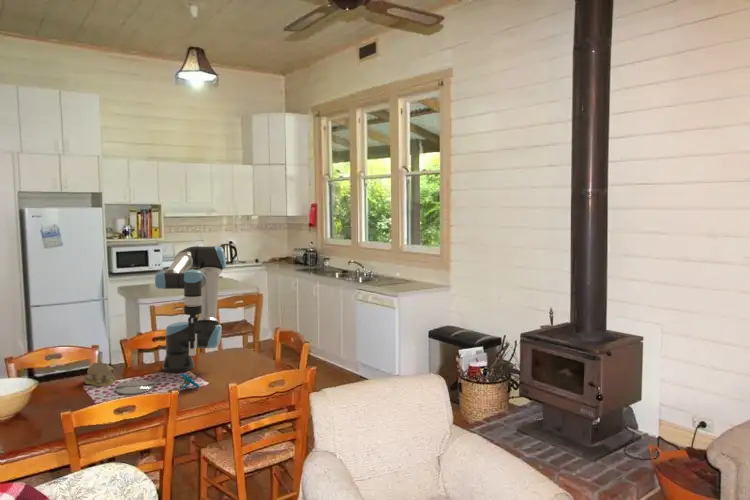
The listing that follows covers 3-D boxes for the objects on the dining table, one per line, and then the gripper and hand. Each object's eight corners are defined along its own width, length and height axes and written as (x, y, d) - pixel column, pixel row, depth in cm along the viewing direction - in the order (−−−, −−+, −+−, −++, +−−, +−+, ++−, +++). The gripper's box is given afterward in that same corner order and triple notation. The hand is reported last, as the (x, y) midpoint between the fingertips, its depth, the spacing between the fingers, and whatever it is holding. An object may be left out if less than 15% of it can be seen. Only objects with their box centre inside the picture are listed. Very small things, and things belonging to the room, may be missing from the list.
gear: (203, 386, 251) (186, 373, 247) (194, 397, 248) (177, 384, 244) (195, 383, 260) (179, 370, 256) (186, 394, 257) (170, 381, 253)
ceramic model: (121, 380, 263) (120, 359, 262) (106, 387, 252) (105, 365, 251) (94, 378, 265) (93, 357, 265) (78, 385, 254) (77, 363, 254)
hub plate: (120, 383, 257) (120, 381, 257) (157, 382, 260) (157, 379, 260) (111, 395, 242) (111, 392, 241) (150, 393, 244) (150, 391, 244)
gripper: (186, 300, 262) (186, 345, 263) (181, 310, 238) (182, 359, 239) (202, 300, 264) (202, 344, 265) (200, 309, 240) (200, 358, 241)
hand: (193, 351), depth 252 cm, fingers open, 13 cm apart
